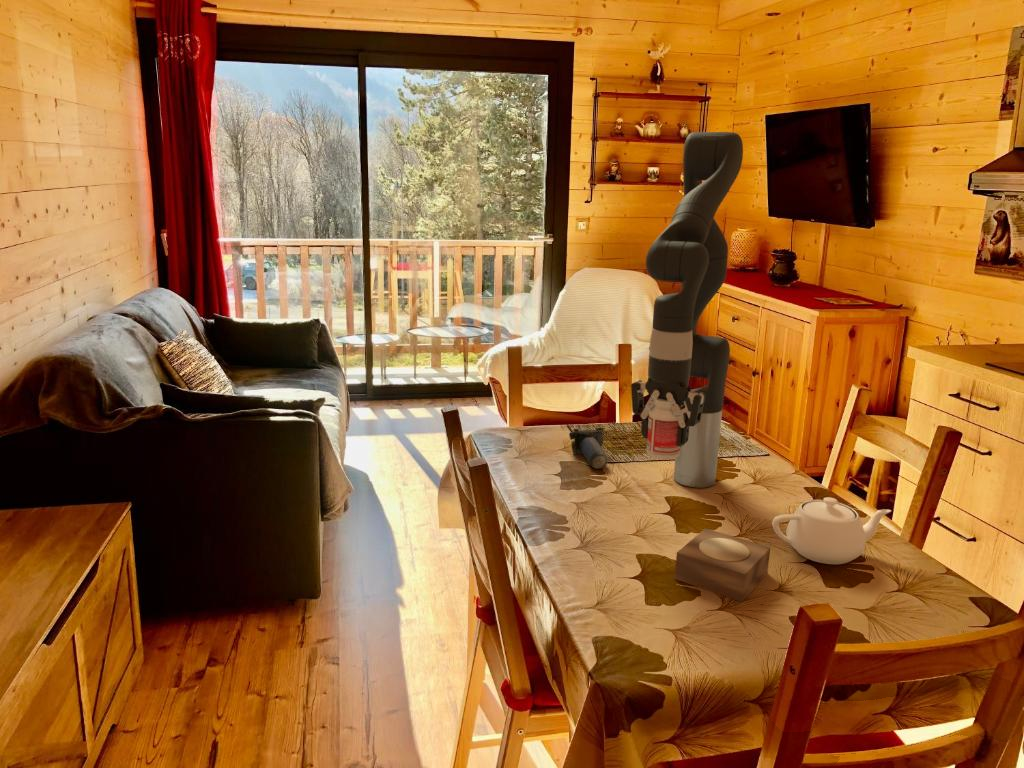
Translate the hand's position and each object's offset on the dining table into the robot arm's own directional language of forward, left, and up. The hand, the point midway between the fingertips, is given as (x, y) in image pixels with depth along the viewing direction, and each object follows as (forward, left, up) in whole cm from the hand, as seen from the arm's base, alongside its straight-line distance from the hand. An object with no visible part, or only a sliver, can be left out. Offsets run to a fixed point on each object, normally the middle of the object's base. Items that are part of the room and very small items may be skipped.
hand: (663, 440), depth 149 cm
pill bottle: (0, 0, -3) cm, 3 cm away
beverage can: (-27, -30, -20) cm, 45 cm away
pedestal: (+7, +16, -19) cm, 26 cm away
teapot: (-14, +28, -20) cm, 37 cm away
